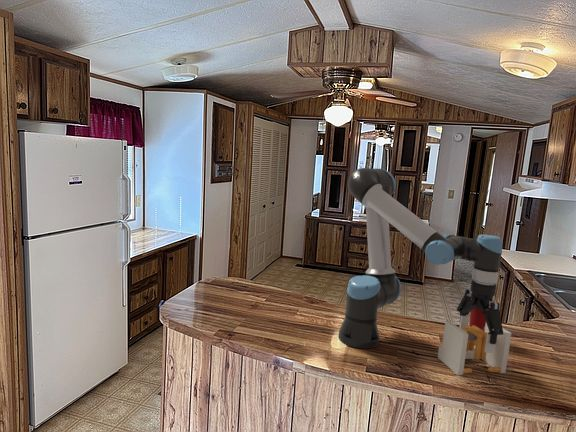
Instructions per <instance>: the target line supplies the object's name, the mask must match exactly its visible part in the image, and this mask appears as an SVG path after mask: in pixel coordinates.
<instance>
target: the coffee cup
mask: <svg viewBox="0 0 576 432" xmlns="http://www.w3.org/2000/svg"><path fill="white" fill-rule="evenodd" d="M487 310H488V309H487ZM468 325H469V326H472V325H475V326H477V327H478V328H480V329H481V330H483V331H485V325H486V320H485V317H484V314H483V313H482V312H481V310H479V309H478V308H474V309H473V310H472V311H471V312H470V313H469V322H468Z"/></svg>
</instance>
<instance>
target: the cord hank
mask: <svg viewBox="0 0 576 432" xmlns="http://www.w3.org/2000/svg"><path fill="white" fill-rule="evenodd" d="M465 328H466V330H465V332H466V333H468V334H473V335H475V336H476V337H477V339H476V340H468V341H467V349H466V351H468V350H470V351H474V346H475V353H474V359H473V360H480V359H481V360H482V359H486V352H484V351H485V345H486V338H487V333H486V332H485V331H483V330H481V329H480V328H478V327H477V326H475V325H472V326H469V324H468V325H467V326H466V327H465Z"/></svg>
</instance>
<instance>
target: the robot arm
mask: <svg viewBox="0 0 576 432" xmlns="http://www.w3.org/2000/svg"><path fill="white" fill-rule="evenodd" d="M396 185H397V184H396V180H395V176H393V174H392V172H390V171H388V170H386V169H382V168H368V167H362V168H357V169H355V170H354V171H353V172H352V173H351V174H350V176H349V177H348V181H347V187H348V190H349V193H350V194H351V196H352V197H354V198H355V200H357V201H358V202H359V203H360V204H361V205H362V206H363V207H364V208H365V213H366V214H365V216H366V217H365V218H366V219H365V220H366V238H367V255H368V268H367V269H366V271H365V275H364V274H363V275H355V276H353V277H351V278H350V279H349V281H348V282H347V283H348V286H347V288H346V302H345V303H346V304H345V315H344V319H343V321H342V322H341V325H340V327H339V330H338V339H339V340H340V342H342V344H345V345H347V346H350V347H354V348H357V349H371V348H374V347H377V346H378V345H379V343H380V334H379V329H378V323H377V319H378V310H379V309H380V308H383V307H385V306H389V305H391V304H392V303H394V302H396V301H397V300H398V299H399V298H400V295H401V293H402V284H401V281H400V279H398V277H397V275H396V270H395V269H394V268H393V267H392V258H391V255H392V254H391V240H390V239H391V237H390V225H391V226H393V227H394V228H395V229H396V230H397V231H399V232H400V233H401V234H403V235H404V236H405V237H406V238H407V239H409V240H410V241H411V242H412V243H414V245H416V246H417V247H419V249H420V250H422V251H423V252H424V254H425V257H426V260H427V261H429V262H430V263H432V264H433V265H446V264H448V263H451V262H452V261H455V260H459V259H460V260H464V261H469V262H473V269H472V274H471V279H472V280H471V282H470V283H471V284H470V289H465V291H464V295H463V297H462V298H461V300H460V302H459V304H458V306H457V308H456V312H459V315H460V316H459V326H458V327H459V328H460V329H462V330H463V331H465V330H466V328H465V327H466V326H467V325H469V321H470V312H471V311H472V310H473V309H474V308H478V309H479V310H481V312H482V313H483V314H484V317H485V320H486V323H487V326H488V329H489V333H487V338H486V345H485V351H484V352H486V353H493V352H494V345H495V344H496V340H497V335H503V328H504V327H503V324H502V318H501V312H500V303H499V302H494V301H493V297H495V295H496V294H497V293H496V292H497V283H498V278H499V271H500V264H501V258H502V254H503V243H504V241H503V239H502V238H501V237H499V236H497V235H493V234H492V235H491V234H481V233H480V234H479V235H477V238H469V237H466V236H465V237H464V236H459V235H455V234H447V233H446V234H440V233H439V232H438V231H437V230H435V229H434V228H433V227H432V226H430V225H429V224H428V223H426V222H425V221H424V220H423V219H421V218H420V217H419V216H417V215H416V214H414V213H413V212H412V211H411V210H409V208H407V207H405V206H404V205H403V204H402V203H400V202H399V201H398V200H396V199H395V198H394V197H393V196H392V195H393V194H394V192H395V191H396ZM487 309H488V310H487ZM498 330H499V331H498Z"/></svg>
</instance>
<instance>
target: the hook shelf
mask: <svg viewBox="0 0 576 432" xmlns="http://www.w3.org/2000/svg"><path fill="white" fill-rule="evenodd" d="M502 328H503V335H497V340H496V344H495V345H494V352H493V353H486V359H481V360H482V361H484V362H485V363H486V364H487V365H489V366H490V367H488V368H487V370H488V372H489V373H499V374H506V371H507V366H508V365H507V364H508V359H509V352H510V346H511V340H512V332H511V331H509V330H507V329H505V328H504V327H502ZM498 331H499V330H498ZM485 332H486V333H489V329H488V326H487V323H486V325H485ZM442 336H443V337H442V342H441V343H442V344H441V346H439V347H438V352H437V353H438V354H437V359H439V360H440V361H441V362H442V363H443V364H444V365H446V366H447V367H448V368H449V369H450V370H451V371H452V372H454V374H456V375H457V376H463V375H466V374H472V373H473V369H472V368H471V367H466V368H465V361H466V360H467V359H468V360H472V359H473V360H475V359H474V353H475V346H476V345H474V351H470V350H468V351H466V349H467V341H468V340H475V341H476V339H477V337H476V336H475V335H473V334H468V333H466V332H465V331H463V330H462V329H460V328H459V326H457V325H456V324H454V322H451V321H444V329H443V335H442Z"/></svg>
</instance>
